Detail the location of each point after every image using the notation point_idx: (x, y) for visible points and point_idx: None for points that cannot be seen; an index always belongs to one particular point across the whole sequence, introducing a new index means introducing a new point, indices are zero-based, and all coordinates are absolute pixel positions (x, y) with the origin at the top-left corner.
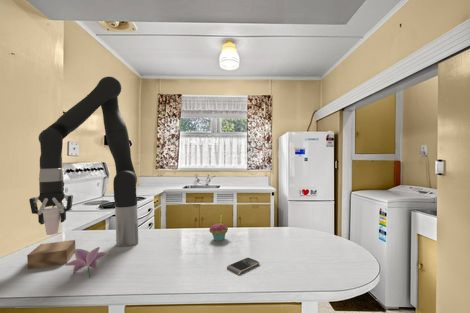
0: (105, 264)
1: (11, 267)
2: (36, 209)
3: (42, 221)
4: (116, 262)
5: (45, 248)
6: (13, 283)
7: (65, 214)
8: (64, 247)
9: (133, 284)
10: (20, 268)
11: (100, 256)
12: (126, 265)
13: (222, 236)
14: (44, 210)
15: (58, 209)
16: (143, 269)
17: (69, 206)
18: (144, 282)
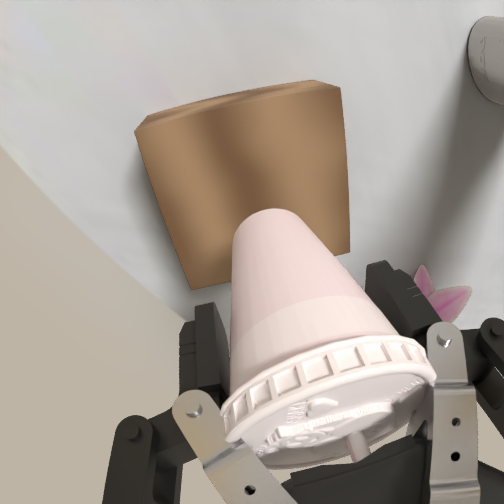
0: (443, 248)
1: (106, 228)
2: (146, 457)
3: (228, 355)
4: (465, 239)
5: (225, 217)
6: (225, 331)
7: (429, 316)
8: (328, 217)
9: (466, 329)
10: (154, 241)
11: (451, 296)
12: (478, 260)
13: None
14: (290, 468)
15: (405, 416)
16: (495, 282)
17: (496, 389)
18: (479, 323)
